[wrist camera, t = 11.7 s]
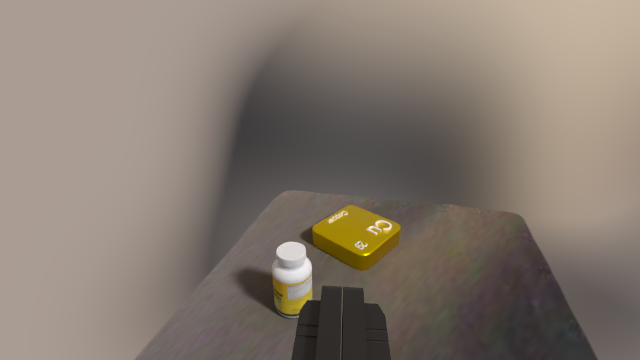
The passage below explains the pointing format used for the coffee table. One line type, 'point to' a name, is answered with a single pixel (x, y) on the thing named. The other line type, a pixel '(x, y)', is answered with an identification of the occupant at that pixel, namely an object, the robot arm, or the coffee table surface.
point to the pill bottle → (291, 279)
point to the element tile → (356, 236)
